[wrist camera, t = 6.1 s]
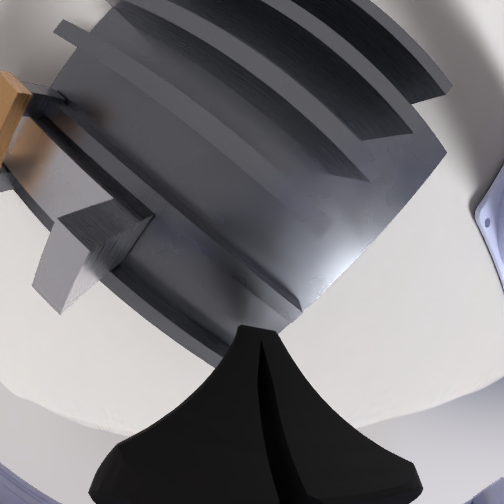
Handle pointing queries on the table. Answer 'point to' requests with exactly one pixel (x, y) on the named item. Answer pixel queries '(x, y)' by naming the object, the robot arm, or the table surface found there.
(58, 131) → the clip
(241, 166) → the heatsink
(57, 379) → the table surface
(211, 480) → the robot arm
